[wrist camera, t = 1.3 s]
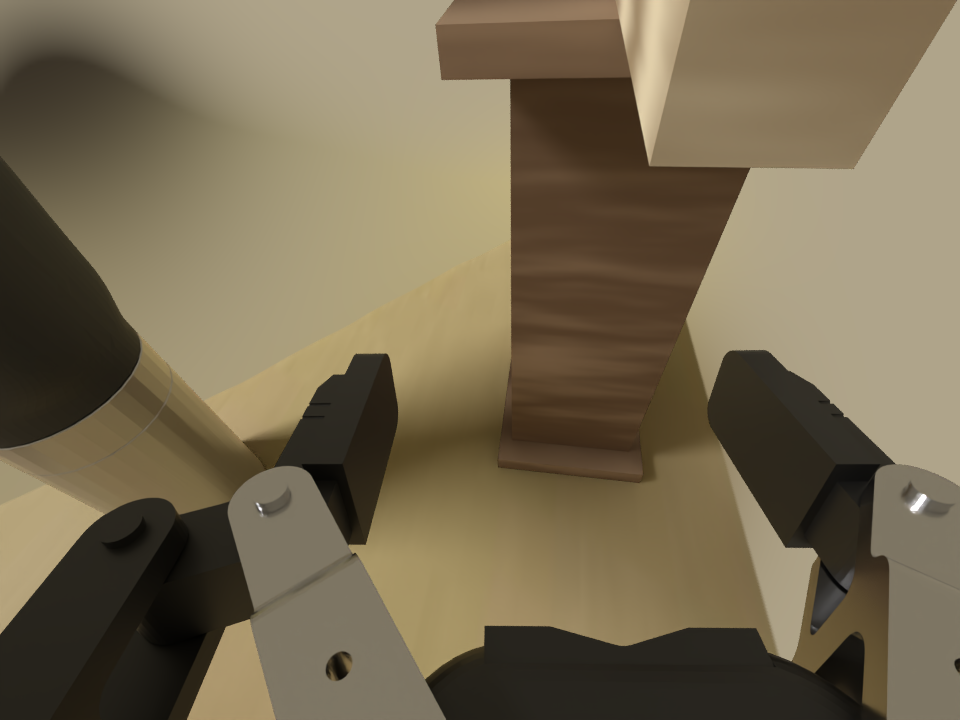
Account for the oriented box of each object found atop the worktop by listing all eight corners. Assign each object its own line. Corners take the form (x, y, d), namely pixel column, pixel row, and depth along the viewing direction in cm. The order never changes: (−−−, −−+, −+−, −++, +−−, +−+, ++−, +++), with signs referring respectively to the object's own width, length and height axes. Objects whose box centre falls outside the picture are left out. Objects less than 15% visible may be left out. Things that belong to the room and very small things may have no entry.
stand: (652, 495, 36) (952, 8, 11) (485, 476, 38) (435, 24, 13) (634, 323, 49) (758, -84, 24) (509, 315, 50) (506, -69, 26)
